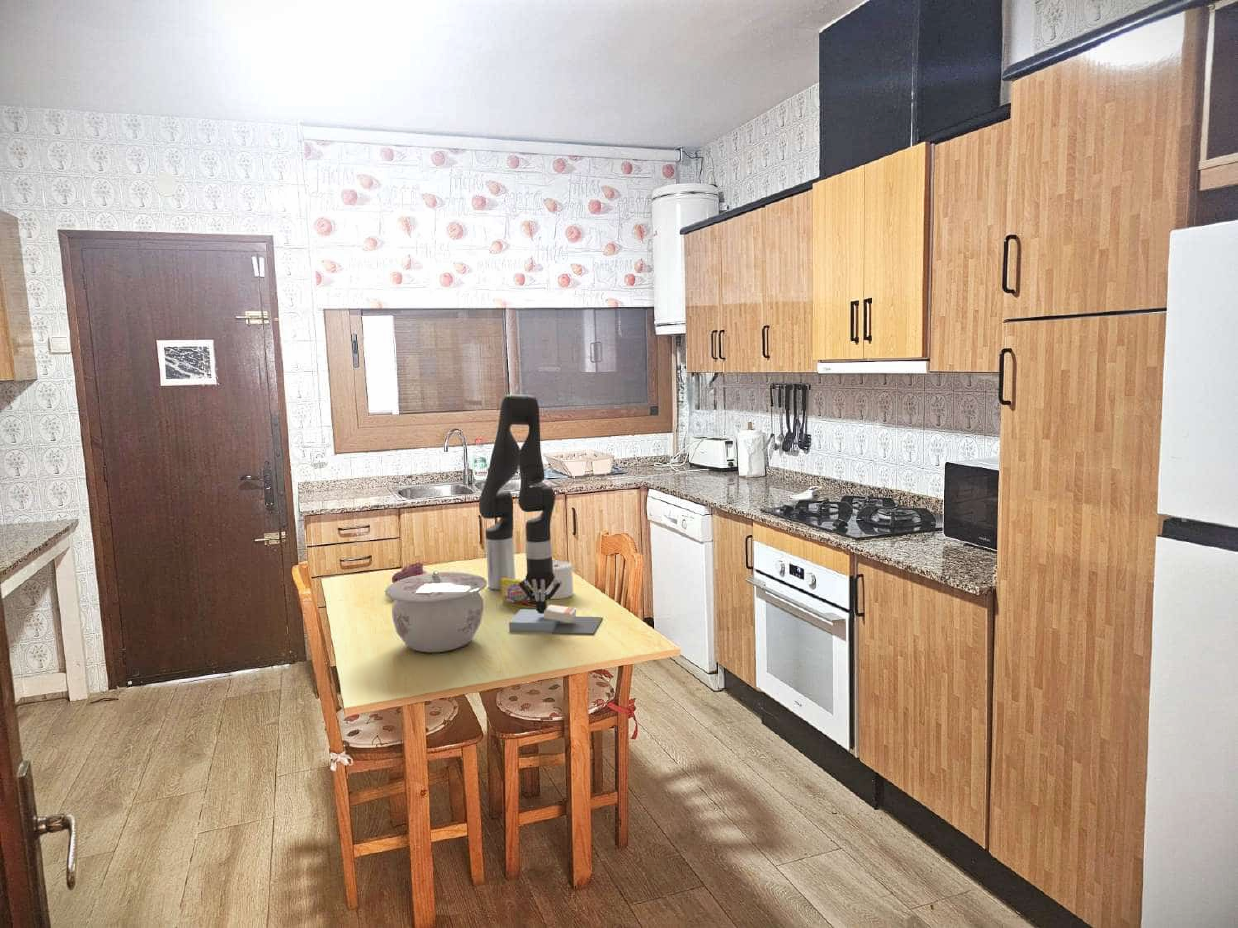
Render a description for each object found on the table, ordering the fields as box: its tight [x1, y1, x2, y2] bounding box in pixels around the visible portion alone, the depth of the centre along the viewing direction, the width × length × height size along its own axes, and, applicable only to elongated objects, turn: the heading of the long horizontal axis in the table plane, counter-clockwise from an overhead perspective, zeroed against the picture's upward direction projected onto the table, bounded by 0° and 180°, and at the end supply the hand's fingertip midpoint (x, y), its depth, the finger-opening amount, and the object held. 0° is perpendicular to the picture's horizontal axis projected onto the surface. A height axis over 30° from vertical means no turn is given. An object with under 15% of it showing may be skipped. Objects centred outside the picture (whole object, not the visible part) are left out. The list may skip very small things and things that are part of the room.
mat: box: [551, 615, 603, 636], centre depth 235 cm, size 14×12×1 cm
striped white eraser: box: [544, 604, 577, 622], centre depth 235 cm, size 6×8×3 cm
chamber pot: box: [384, 570, 488, 654], centre depth 222 cm, size 28×28×21 cm
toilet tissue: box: [547, 558, 574, 600], centre depth 266 cm, size 11×12×10 cm
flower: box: [391, 561, 428, 584], centre depth 273 cm, size 15×15×10 cm
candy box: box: [501, 578, 536, 609], centre depth 255 cm, size 16×2×8 cm, turn 62°
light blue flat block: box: [508, 608, 559, 633], centre depth 237 cm, size 12×13×2 cm
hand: (541, 612), depth 236 cm, fingers closed
